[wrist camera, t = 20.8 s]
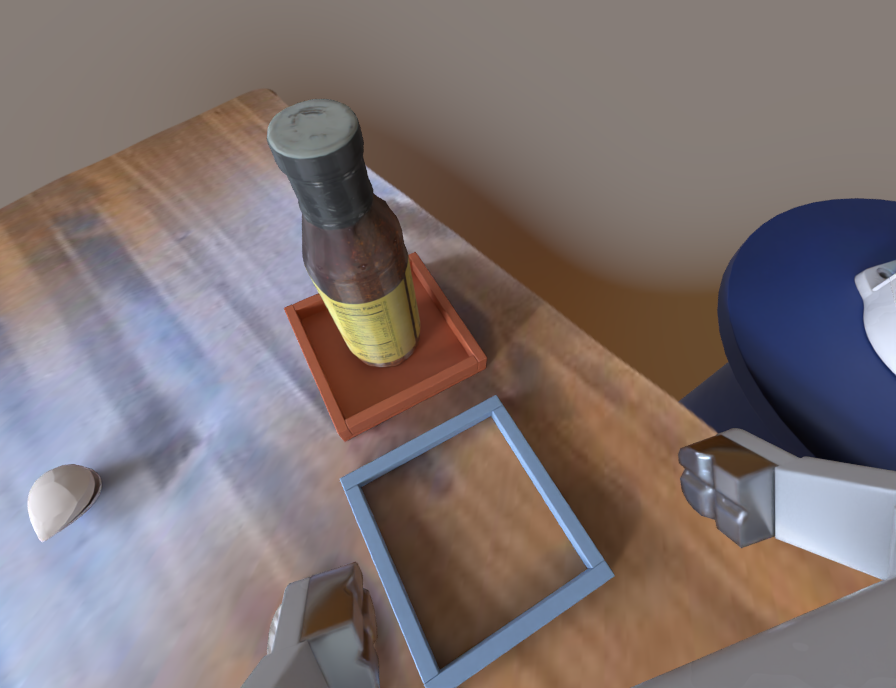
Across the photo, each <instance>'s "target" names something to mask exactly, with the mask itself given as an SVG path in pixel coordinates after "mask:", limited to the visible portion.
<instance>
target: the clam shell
mask: <svg viewBox="0 0 896 688" xmlns="http://www.w3.org/2000/svg"><path fill="white" fill-rule="evenodd" d="M101 489H102V482H101V478H100V476H99V475H98V473H97V472H95V471H94V470H93V469H90V468H85V467H83V466H80V465H75V464H70V465H62V466H59V467H57V468H54V469H52V470H49V471H48V472H46V473H44V474H43V475H42V476H41V477H40V478H38V479H37V480H36V481H35V483H34V484H33V486H32V488H31V489H30V491H29V496H28V512H29V516H30V520H31V523H32V525H33V528H34V530H35V532H36V534H37V536H38V538H39V540H40V541H41V542H43V541H46V540H48V539H49V538H51V537H52V536H54V535H55V534H57V533H58V532H60V531H61V530H63V529H64V528H66V527H67V526H69V525H70V524H72V523H73V522H74V521H76V520H77V519H78V518H79V517H81V516H82V515H83V514H84V513H85V512H86V511H87V510H88V509H89V508H90V507H91V506H92V505H93V504H94V502H95V501H96V500H97V498H98V497H99V494H100V491H101Z"/></svg>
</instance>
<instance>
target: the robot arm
mask: <svg viewBox="0 0 896 688" xmlns="http://www.w3.org/2000/svg"><path fill="white" fill-rule="evenodd" d="M854 280H855V284H856V287H857V289H858V291H859V293H860V295H861V297H862V299H863V303H864V313H863V320H864V326H865V330H866V333H867V336H868V338H869V341H870V343H871V344H872V346H873V348H874V350H875V351H876V353H877V354H878V356H879V357H880V358H881V359H882V361H883V362H884V363H885V364H886V365H887V367H888V368H889V369H890V370H891V371H892V372H893V373H894V374H895V375H896V260H894V261H891V262H887V263H884V264H881V265H878V266H874V267H871V268H868V269H866V270H864V271H862V272H860V273H859V274H857V275H856V276H855V278H854ZM678 457H679V464H681V465H682V466H683V467H684V468H685V470H684V472H683V474H682V476H681V478H680V481H681V488H682V492H683V494H684V496H685V498H686V500H687V501H688V503H689V504H690V505H691V506H692V508H693V509H694V510H696V511H697V512H698V513H699V514H700V515H701V516H704V517H708V518H711V519H714V520H715V522H716V526H717V529H718V530H720V531H721V532H722V533H723V534H725V535H726V536H727V537H728V538H730V539H731V540H732V541H733V542H735V543H736V544H737V545H738V546H739V547H741V548H743V547H746V546H749V545H751V544H754V543H757V542H760V541H763V540H765V539H768V538H771V537H774V536H775V538H776V539H779V540H781V541H784V542H787V543H789V544H792V545H794V546H797V547H800V548H802V549H805V550H807V551H810V552H812V553H815V554H818V555H820V556H823V557H825V558H828V559H830V560H833V561H836V562H838V563H841V564H843V565H846V566H849V567H851V568H854V569H856V570H859V571H861V572H864V573H867V574H869V575H872V576H874V577H877V578H879V579H882V580H883V581H880V582H878V583H876V584H873V585H871V586H868V587H866V588H864V589H861V590H859V591H857V592H854V593H852V594H850V595H847V596H845V597H843V598H840V599H838V600H835V601H833V602H831V603H828V604H826V605H824V606H821V607H819V608H817V609H814V610H812V611H810V612H807V613H805V614H803V615H800V616H798V617H796V618H793V619H791V620H789V621H786V622H784V623H782V624H779V625H777V626H775V627H772V628H770V629H768V630H765V631H763V632H761V633H758V634H756V635H753V636H751V637H749V638H746V639H744V640H742V641H739V642H737V643H735V644H732V645H730V646H728V647H725V648H723V649H721V650H718V651H716V652H714V653H711V654H709V655H707V656H704V657H702V658H700V659H697V660H695V661H692V662H690V663H688V664H685V665H683V666H681V667H678V668H676V669H674V670H671V671H669V672H667V673H664V674H662V675H659V676H657V677H655V678H652V679H650V680H648V681H645V682H643V683H641V684H638V685H636V686H634V687H631V688H896V471H890V470H884V469H878V468H872V467H865V466H859V465H853V464H847V463H841V462H835V461H829V460H823V459H817V458H811V457H803V458H798V457H796V456H794V455H792V454H790V453H788V452H786V451H784V450H782V449H780V448H778V447H776V446H774V445H772V444H770V443H768V442H766V441H764V440H762V439H760V438H758V437H756V436H754V435H752V434H750V433H748V432H746V431H744V430H742V429H737V428H733V429H730V430H728V431H725V432H722V433H720V434H717V435H716V436H713V437H710V438H707V439H705V440H702V441H699V442H696V443H693V444H691V445H688V446H685V447H682V448H680V451H679V453H678ZM377 638H378V635H377V622H376V616H375V610H374V606H373V602H372V599H371V596H370V593H369V590H367V589H365V588H363V575H362V572H361V570H360V567H359V565H358V563H356V562H353V563H350V564H347V565H344V566H340V567H337V568H334V569H331V570H328V571H325V572H322V573H319V574H316V575H313V576H311V577H308V578H305V579H302V580H299V581H296V582H293V583H289V585H288V586H287V587H286V589H285V592H284V597H283V601H282V606H281V611H280V615H279V620H278V624H277V629H276V634H275V638H274V643H273V648H272V652H271V654H269V655H266V656H264V657H263V658H262V660H261V661H260V662H259V664H258V665H257V666H256V667H255V669H254V670H253V671H252V673H251V674H250V675H249V677H248V678H247V679H246V681H245V682H244V683H243V685H242V686H241V687H240V688H380V684H379V658H378V655H377V652H376V650H375V647H374V643H375V641H376V640H377Z"/></svg>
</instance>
